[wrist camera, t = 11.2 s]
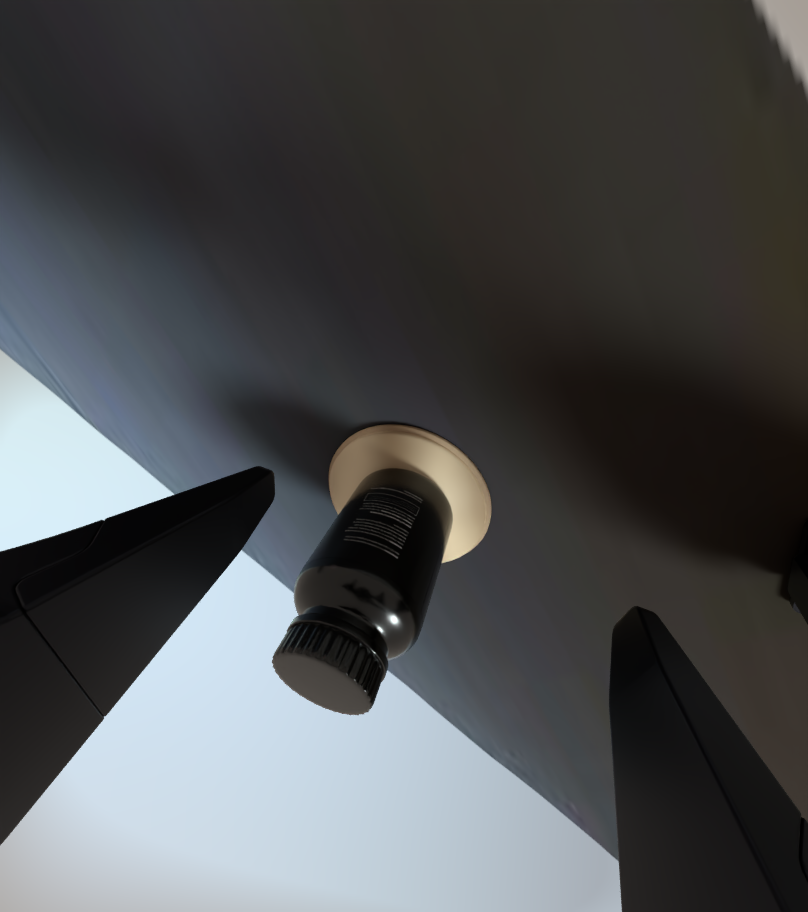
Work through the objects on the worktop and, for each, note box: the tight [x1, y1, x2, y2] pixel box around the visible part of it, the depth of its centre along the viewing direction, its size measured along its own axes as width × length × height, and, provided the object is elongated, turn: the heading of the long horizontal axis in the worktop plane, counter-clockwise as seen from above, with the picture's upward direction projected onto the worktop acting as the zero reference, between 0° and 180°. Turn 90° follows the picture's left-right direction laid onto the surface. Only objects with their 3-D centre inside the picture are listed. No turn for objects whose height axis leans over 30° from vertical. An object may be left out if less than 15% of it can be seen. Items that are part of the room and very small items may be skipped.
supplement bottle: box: [272, 468, 453, 715], centre depth 21 cm, size 7×7×12 cm
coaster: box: [329, 424, 492, 563], centre depth 26 cm, size 12×12×1 cm
